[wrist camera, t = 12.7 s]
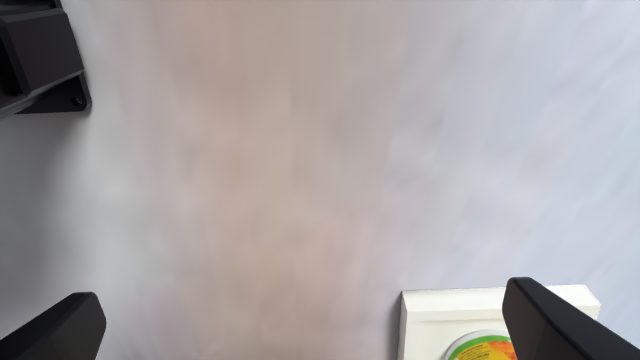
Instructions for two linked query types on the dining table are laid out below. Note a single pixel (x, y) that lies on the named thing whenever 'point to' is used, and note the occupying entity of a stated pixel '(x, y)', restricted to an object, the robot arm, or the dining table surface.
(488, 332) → the supplement bottle
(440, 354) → the dish
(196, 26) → the dining table surface
